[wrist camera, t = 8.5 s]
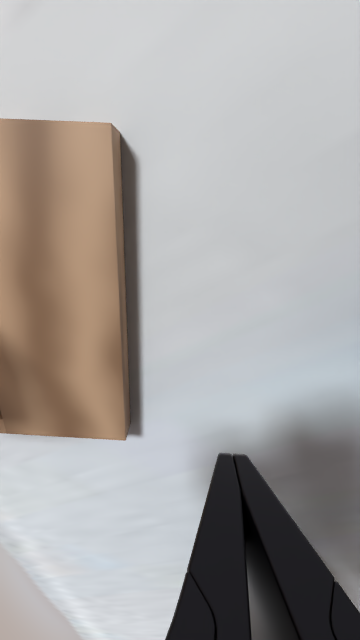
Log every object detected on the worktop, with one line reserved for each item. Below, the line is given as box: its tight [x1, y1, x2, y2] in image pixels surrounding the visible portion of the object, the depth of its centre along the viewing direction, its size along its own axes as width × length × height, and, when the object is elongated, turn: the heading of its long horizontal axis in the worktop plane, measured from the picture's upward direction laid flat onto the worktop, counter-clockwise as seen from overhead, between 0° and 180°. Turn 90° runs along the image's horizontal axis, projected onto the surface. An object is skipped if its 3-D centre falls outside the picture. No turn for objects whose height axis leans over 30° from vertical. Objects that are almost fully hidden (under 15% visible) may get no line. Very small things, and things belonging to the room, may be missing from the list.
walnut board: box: [0, 119, 130, 440], centre depth 20 cm, size 15×22×2 cm
